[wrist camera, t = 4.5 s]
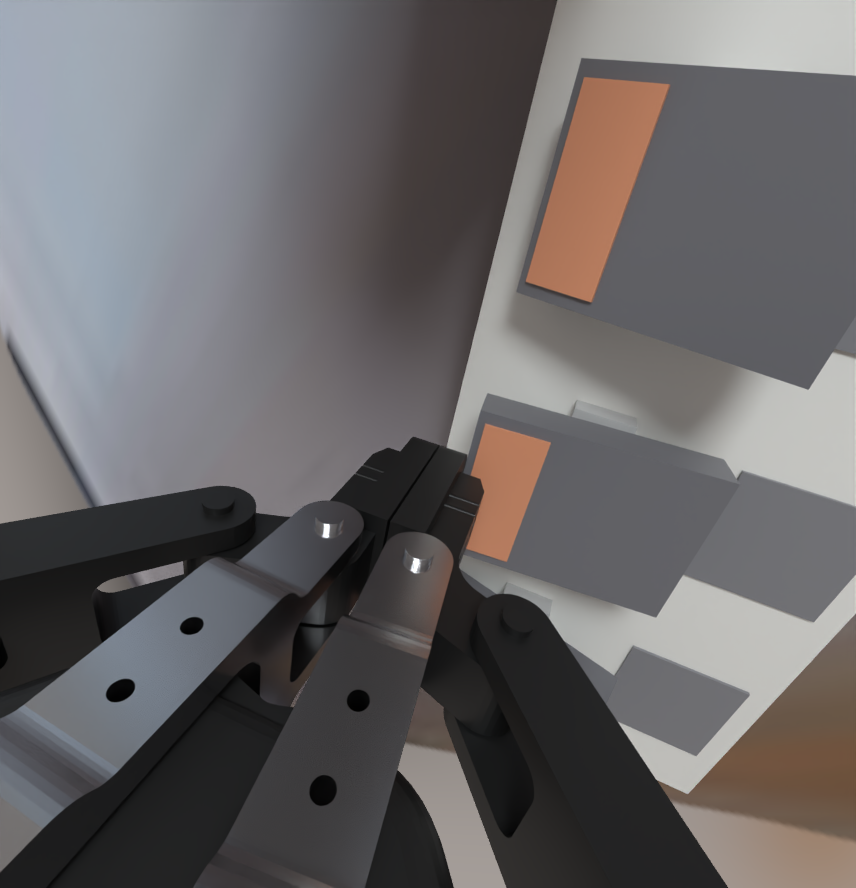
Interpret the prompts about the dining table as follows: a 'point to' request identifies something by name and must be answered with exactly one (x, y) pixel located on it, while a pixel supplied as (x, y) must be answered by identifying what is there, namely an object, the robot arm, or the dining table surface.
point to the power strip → (684, 418)
